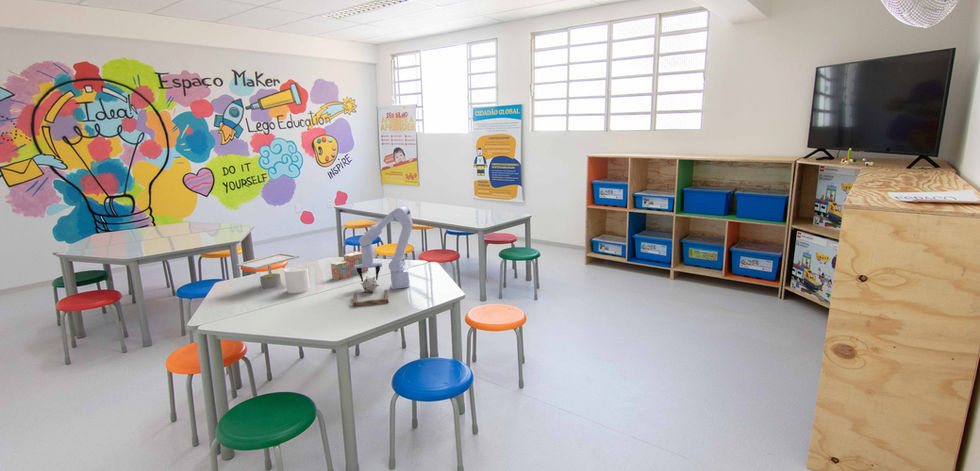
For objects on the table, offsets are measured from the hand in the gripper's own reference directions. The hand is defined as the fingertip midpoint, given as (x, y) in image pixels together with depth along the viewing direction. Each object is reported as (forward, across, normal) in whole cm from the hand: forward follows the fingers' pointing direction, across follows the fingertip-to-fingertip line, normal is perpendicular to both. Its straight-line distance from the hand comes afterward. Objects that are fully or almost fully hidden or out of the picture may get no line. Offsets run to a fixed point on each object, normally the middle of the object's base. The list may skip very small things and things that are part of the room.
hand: (369, 280), depth 272 cm
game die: (+4, 0, +10) cm, 10 cm away
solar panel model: (+4, +54, -22) cm, 59 cm away
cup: (+4, +38, -7) cm, 39 cm away
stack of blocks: (+4, +11, -29) cm, 31 cm away
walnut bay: (+3, 0, +24) cm, 24 cm away
